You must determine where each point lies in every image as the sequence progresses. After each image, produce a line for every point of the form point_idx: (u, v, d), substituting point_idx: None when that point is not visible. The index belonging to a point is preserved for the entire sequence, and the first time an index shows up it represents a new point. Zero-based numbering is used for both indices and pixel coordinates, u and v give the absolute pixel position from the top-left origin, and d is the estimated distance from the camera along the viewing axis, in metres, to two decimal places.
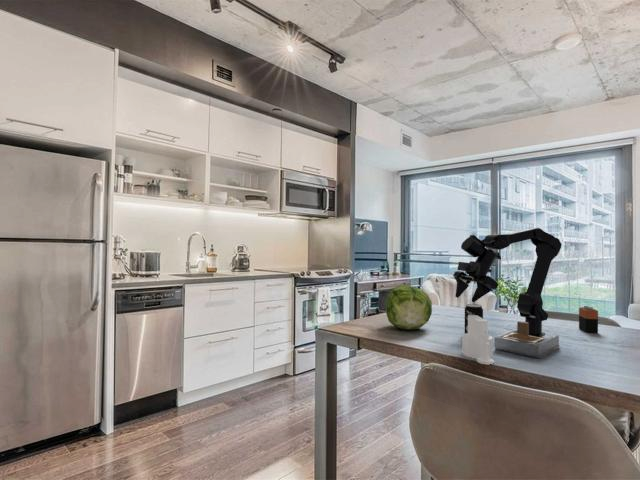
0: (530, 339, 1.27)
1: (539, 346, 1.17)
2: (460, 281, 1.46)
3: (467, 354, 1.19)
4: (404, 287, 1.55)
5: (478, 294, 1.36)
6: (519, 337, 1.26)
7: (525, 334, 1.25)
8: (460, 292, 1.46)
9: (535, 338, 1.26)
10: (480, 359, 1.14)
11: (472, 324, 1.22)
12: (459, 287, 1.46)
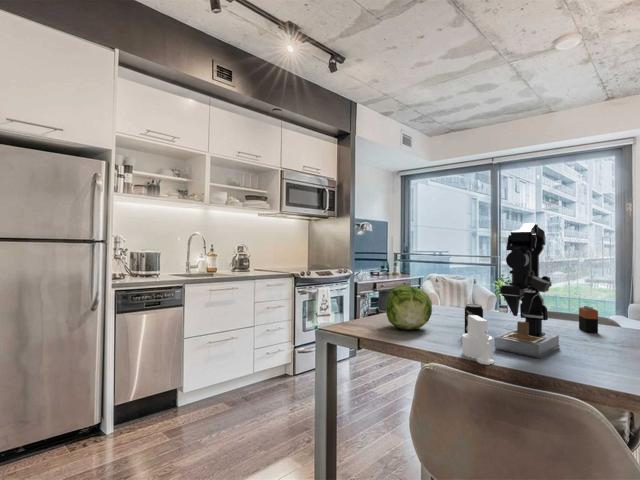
0: (530, 339, 1.27)
1: (539, 346, 1.17)
2: None
3: (467, 354, 1.19)
4: (404, 287, 1.55)
5: None
6: (519, 337, 1.26)
7: (525, 334, 1.25)
8: None
9: (535, 338, 1.26)
10: (480, 359, 1.14)
11: (472, 324, 1.22)
12: None
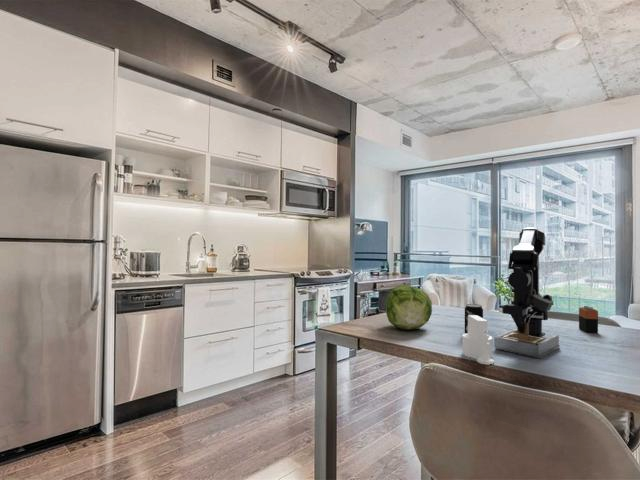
0: (530, 339, 1.27)
1: (539, 346, 1.17)
2: None
3: (467, 354, 1.19)
4: (404, 287, 1.55)
5: None
6: (519, 337, 1.26)
7: (525, 334, 1.25)
8: None
9: (535, 338, 1.26)
10: (480, 359, 1.14)
11: (472, 324, 1.22)
12: None
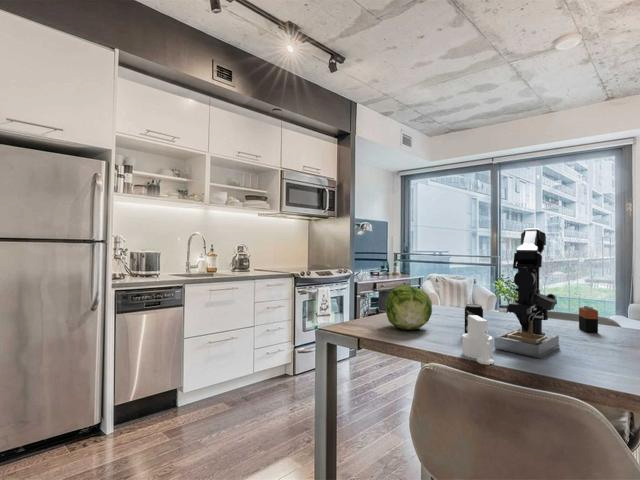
0: (534, 337, 1.30)
1: (539, 346, 1.17)
2: None
3: (467, 354, 1.19)
4: (404, 287, 1.55)
5: None
6: (523, 335, 1.28)
7: (529, 332, 1.27)
8: None
9: (539, 336, 1.28)
10: (480, 359, 1.14)
11: (472, 324, 1.22)
12: None
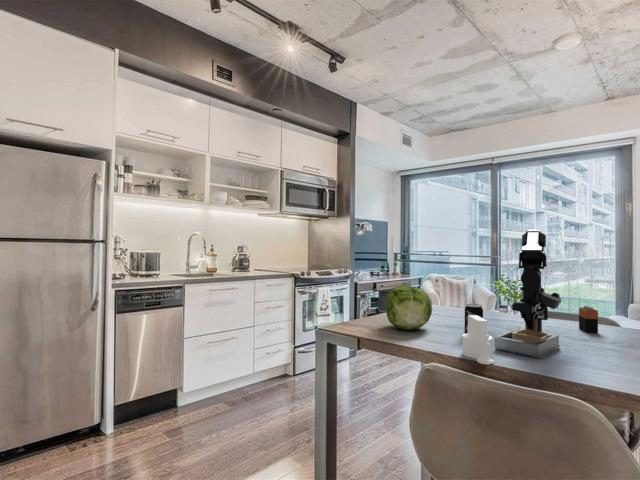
0: (538, 335, 1.32)
1: (539, 346, 1.17)
2: None
3: (467, 354, 1.19)
4: (404, 287, 1.55)
5: None
6: (528, 333, 1.31)
7: (534, 330, 1.30)
8: None
9: (543, 334, 1.31)
10: (480, 359, 1.14)
11: (472, 324, 1.22)
12: None
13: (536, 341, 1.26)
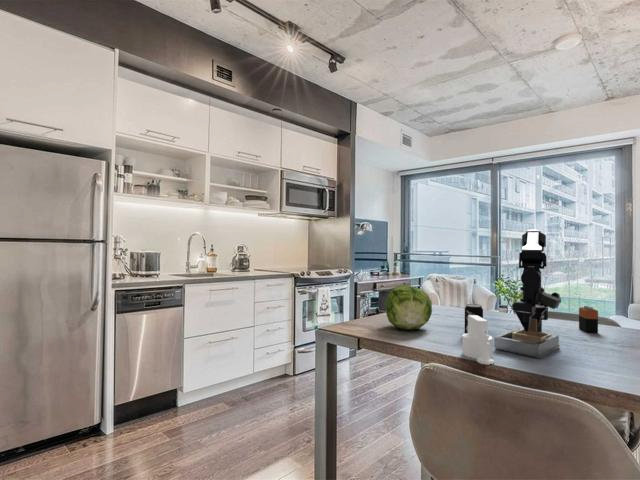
0: (538, 335, 1.32)
1: (539, 346, 1.17)
2: None
3: (467, 354, 1.19)
4: (404, 287, 1.55)
5: None
6: (528, 333, 1.31)
7: (534, 330, 1.30)
8: None
9: (543, 334, 1.31)
10: (480, 359, 1.14)
11: (472, 324, 1.22)
12: None
13: (536, 341, 1.26)
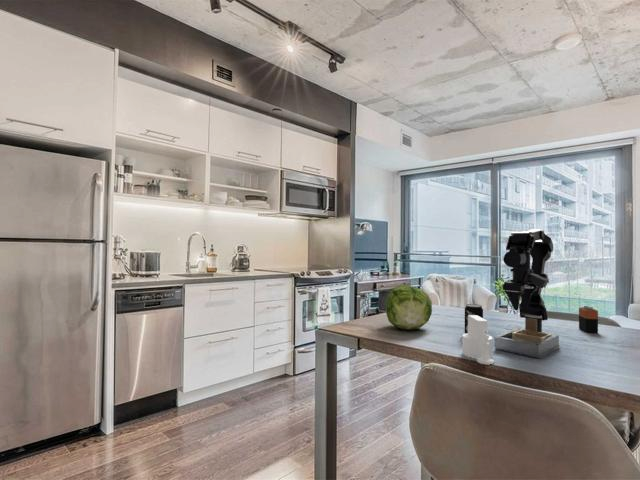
0: (538, 335, 1.32)
1: (539, 346, 1.17)
2: None
3: (467, 354, 1.19)
4: (404, 287, 1.56)
5: None
6: (528, 333, 1.31)
7: (534, 330, 1.30)
8: None
9: (543, 334, 1.31)
10: (480, 359, 1.14)
11: (472, 324, 1.22)
12: None
13: (536, 341, 1.26)
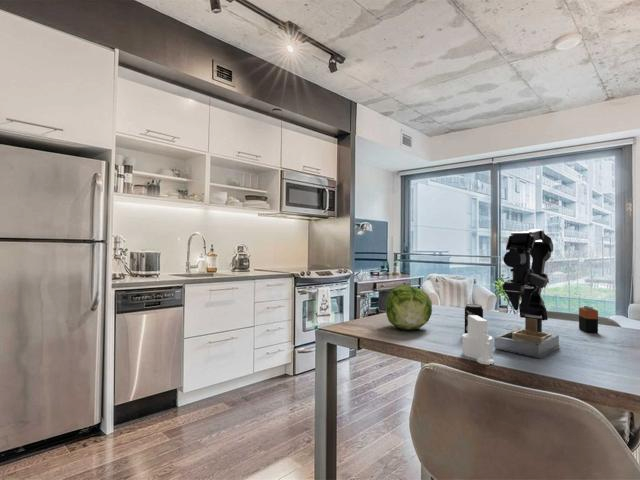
0: (538, 335, 1.32)
1: (539, 346, 1.17)
2: None
3: (467, 354, 1.19)
4: (404, 287, 1.55)
5: None
6: (528, 333, 1.31)
7: (534, 330, 1.30)
8: None
9: (543, 334, 1.31)
10: (480, 359, 1.14)
11: (472, 324, 1.22)
12: None
13: (536, 341, 1.26)
